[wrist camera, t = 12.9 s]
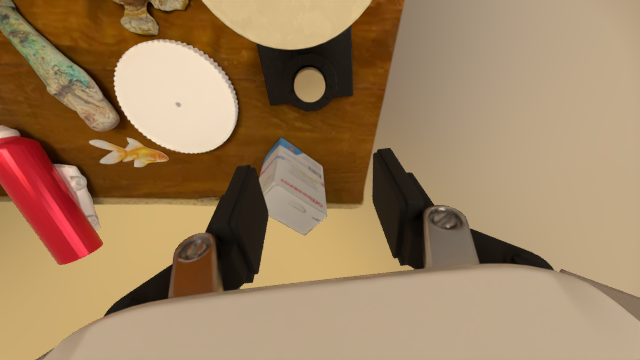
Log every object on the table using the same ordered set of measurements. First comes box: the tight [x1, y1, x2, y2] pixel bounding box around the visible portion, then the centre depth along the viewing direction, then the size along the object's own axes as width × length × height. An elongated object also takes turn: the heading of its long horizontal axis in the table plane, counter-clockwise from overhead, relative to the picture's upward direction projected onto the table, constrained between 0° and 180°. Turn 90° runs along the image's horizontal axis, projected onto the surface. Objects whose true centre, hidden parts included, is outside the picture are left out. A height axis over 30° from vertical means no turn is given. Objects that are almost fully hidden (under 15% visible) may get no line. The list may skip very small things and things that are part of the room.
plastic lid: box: [114, 39, 238, 154], centre depth 32 cm, size 14×14×2 cm
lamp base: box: [257, 25, 353, 111], centre depth 28 cm, size 15×11×4 cm
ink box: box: [259, 138, 327, 235], centre depth 34 cm, size 9×5×12 cm, turn 49°
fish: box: [89, 138, 168, 167], centre depth 37 cm, size 10×1×5 cm
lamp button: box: [294, 67, 325, 102], centre depth 29 cm, size 4×4×2 cm
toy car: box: [54, 164, 100, 230], centre depth 39 cm, size 6×12×3 cm, turn 175°
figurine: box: [0, 0, 120, 131], centre depth 28 cm, size 6×15×4 cm, turn 18°
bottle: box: [0, 125, 103, 265], centre depth 35 cm, size 5×5×20 cm
